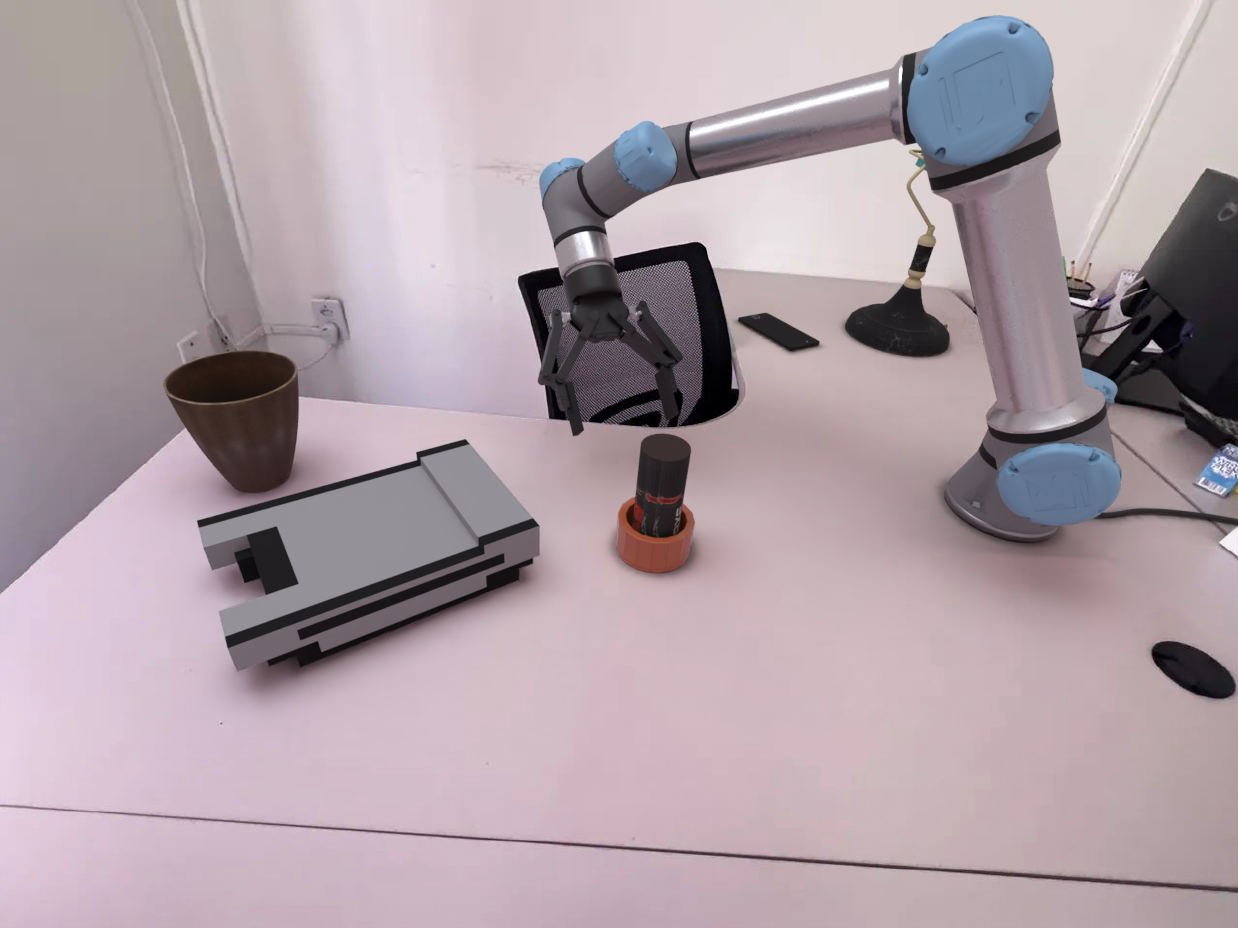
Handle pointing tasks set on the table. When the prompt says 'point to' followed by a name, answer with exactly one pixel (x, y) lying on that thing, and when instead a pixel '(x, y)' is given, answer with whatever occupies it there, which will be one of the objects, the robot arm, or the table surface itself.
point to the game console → (368, 554)
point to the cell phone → (779, 331)
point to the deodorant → (661, 485)
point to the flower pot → (240, 414)
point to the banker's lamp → (904, 305)
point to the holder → (653, 543)
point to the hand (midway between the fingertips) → (626, 425)
